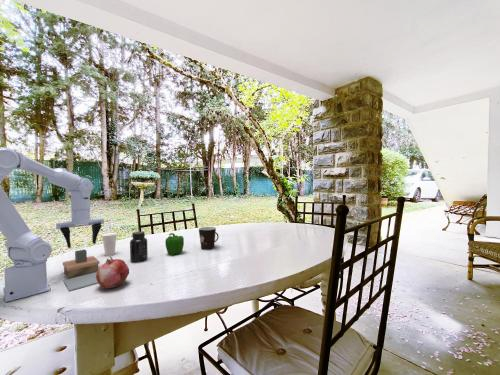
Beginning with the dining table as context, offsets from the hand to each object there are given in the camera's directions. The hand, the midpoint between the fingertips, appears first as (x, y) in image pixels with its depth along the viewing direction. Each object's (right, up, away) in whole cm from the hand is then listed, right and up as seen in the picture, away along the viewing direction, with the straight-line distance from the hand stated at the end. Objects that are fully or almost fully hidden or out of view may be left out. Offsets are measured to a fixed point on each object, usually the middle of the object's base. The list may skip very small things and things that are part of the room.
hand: (82, 245), depth 87 cm
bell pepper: (+28, -9, +21) cm, 36 cm away
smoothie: (-2, -10, +21) cm, 23 cm away
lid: (0, -7, -1) cm, 7 cm away
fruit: (+19, -10, -13) cm, 25 cm away
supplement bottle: (+16, -10, +12) cm, 22 cm away
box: (0, -10, -1) cm, 10 cm away
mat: (+8, -10, -8) cm, 15 cm away
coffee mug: (+43, -9, +28) cm, 52 cm away
